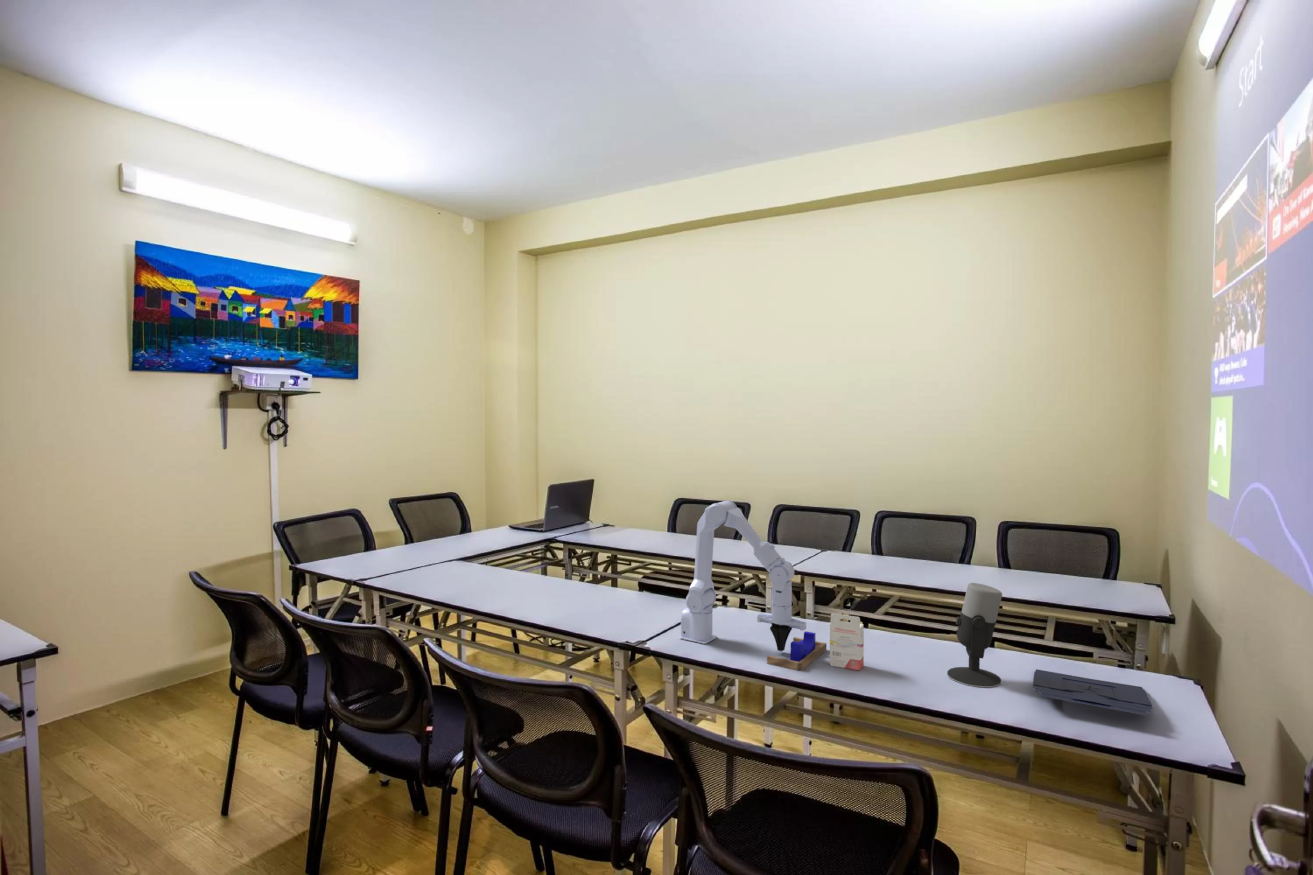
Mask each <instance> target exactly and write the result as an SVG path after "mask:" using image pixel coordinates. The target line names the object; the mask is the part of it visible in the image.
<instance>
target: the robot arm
mask: <svg viewBox="0 0 1313 875" xmlns="http://www.w3.org/2000/svg"><path fill="white" fill-rule="evenodd" d="M722 525H724V527H728V528H732V529H736V531H738V533H739V534H740V535H741V536H742V537H743V538H744V539H745V540H746V541H747V543H748V544H749V545H750V546H751V547H752V548H753V555H754V557H755V559H757V560H758V561H759V562H760V564H761V565H762V566H763V567H764V569H765V570H766V571H767V572H769V573H768V578H769V580H770V581H771V614H763V613H760V614H758V615H757V616H756V618H757V619H756V620H757V623H765V624H771V626H769V630H770V632H771V634H772V635H773V638H774V640H775V641H774V642H775V644H776V648H777V651H779V652H783V651H785V649H786V644H787V640H788V638H789V636H790V634H791V631H792V630H793V629H797V630H800V631H803V632H805V630H807V622H806V621H800V620H798V619H795V618H792V610H793V609H792V604H793V603H792V602H793V601H792V600H793V598H792V597H793V593H792V592H793V589H792V585H793V584H792V583H793V582H792V579H793V578H794V575H795V568H794V566H793V564H792V563H791V562H790V561H788V560H786V559H785V558H784V557H782V556H781V555H780V554H779V553H778V551H777V550H776V549H775V548H776V546H775V544H773V543H770V542H769V541H764V540H763V539H762V538H761V537H760V535H758V533H757V531H756V530H755V529H754V528H753V526H752V525H751V524H750V522H749V521H748V519H747V518H746V517H745V516H744V514H743V511H742V510H741V509H740V508H739V507H737V504H736V503H735V502H734V501H732V500H730V499H729V500H728V499H727V500H723V501H721V502H715V503H712V504H711V505H708V506H707V507H706V508H705V509H704V513H703V514H702V515H701V516H700V518H699V520H698V521H697V524H696V539H695V558H694V570H693V571H694V572H693V574H694V575H693V580H692V582H691V584H690V586H689V590H688V593H687V595H686V597H685V605H686V607H685V608H684V609H683V610H682V612H681V616H680V636H679V639H681V640H685V641H690V642H694V643H699V644H705V645H706V644H709V643H710V642H712V641H714V640H715V639H717V638H718V636H719V635H715V634H713V605H714V603H715V602H716V600H717V595H716V591H715V587H714V586H715V584H714V582H713V580H712V572H713V570H712V569H713V558H714V557H713V556H714V541H715V539H714V538H715V530H716V529H718V528H719V527H720V526H722Z"/></svg>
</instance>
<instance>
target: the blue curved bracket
mask: <svg viewBox="0 0 1313 875" xmlns="http://www.w3.org/2000/svg"><path fill="white" fill-rule="evenodd" d="M802 639H803V641H799V642H794V641H793V640H792V641H791V642H790V656H789V657H790V659H789V660H793V661H797V662H799V661H801V660H802V659H803V658H805V657H806V656H807V655H808V654H810V653H811V652H812V651H813V650H815V641H816V632H813V631H812V632H811V631H805V630H804V631H803V637H802Z"/></svg>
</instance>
